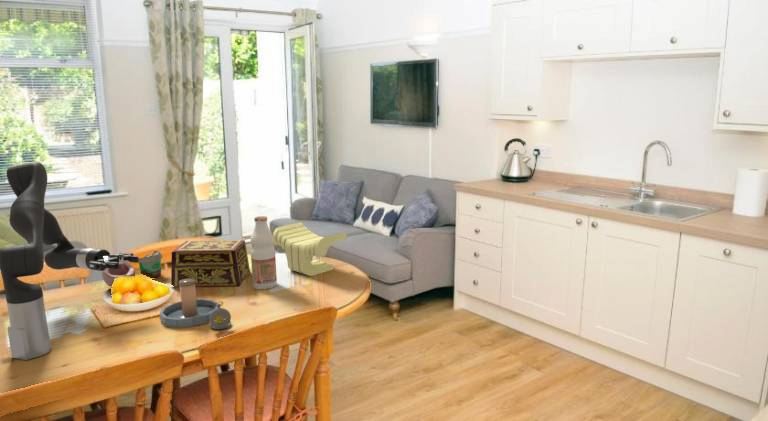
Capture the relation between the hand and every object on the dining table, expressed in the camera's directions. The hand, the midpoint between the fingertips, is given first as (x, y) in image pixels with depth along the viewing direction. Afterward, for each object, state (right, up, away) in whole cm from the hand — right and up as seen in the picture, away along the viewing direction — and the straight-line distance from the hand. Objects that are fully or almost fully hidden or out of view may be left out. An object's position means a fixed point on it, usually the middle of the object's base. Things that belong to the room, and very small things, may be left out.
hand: (128, 262), depth 196 cm
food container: (-9, -11, +46) cm, 48 cm away
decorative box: (+17, -11, +41) cm, 45 cm away
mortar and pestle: (-18, -13, +33) cm, 40 cm away
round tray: (+21, -19, +2) cm, 28 cm away
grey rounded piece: (+34, -21, -9) cm, 41 cm away
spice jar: (+21, -18, +2) cm, 27 cm away
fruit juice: (+40, -12, +32) cm, 53 cm away
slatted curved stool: (+56, -8, +51) cm, 76 cm away
